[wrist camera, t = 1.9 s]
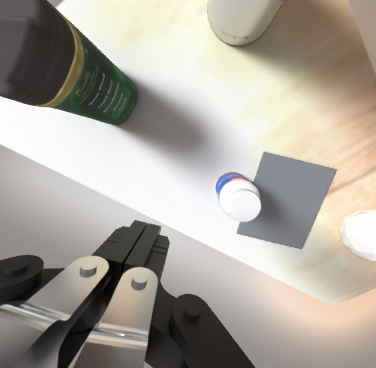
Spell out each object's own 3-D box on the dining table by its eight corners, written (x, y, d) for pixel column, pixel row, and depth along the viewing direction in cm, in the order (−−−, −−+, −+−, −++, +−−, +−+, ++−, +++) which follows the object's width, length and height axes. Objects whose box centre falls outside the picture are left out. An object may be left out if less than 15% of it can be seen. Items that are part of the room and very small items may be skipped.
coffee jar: (147, 90, 28) (53, -7, 10) (121, 132, 30) (3, 117, 12) (93, 50, 27) (-116, -135, 9) (71, 97, 29) (-144, 20, 11)
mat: (263, 151, 29) (264, 151, 29) (334, 169, 29) (336, 169, 29) (236, 232, 33) (237, 233, 32) (300, 247, 33) (301, 249, 32)
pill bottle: (239, 165, 30) (258, 176, 20) (251, 193, 31) (275, 216, 21) (209, 180, 31) (214, 197, 21) (222, 206, 32) (233, 234, 22)
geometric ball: (331, 226, 34) (331, 257, 29) (352, 193, 30) (355, 223, 24) (385, 244, 31) (396, 284, 25) (417, 209, 26) (439, 249, 21)
